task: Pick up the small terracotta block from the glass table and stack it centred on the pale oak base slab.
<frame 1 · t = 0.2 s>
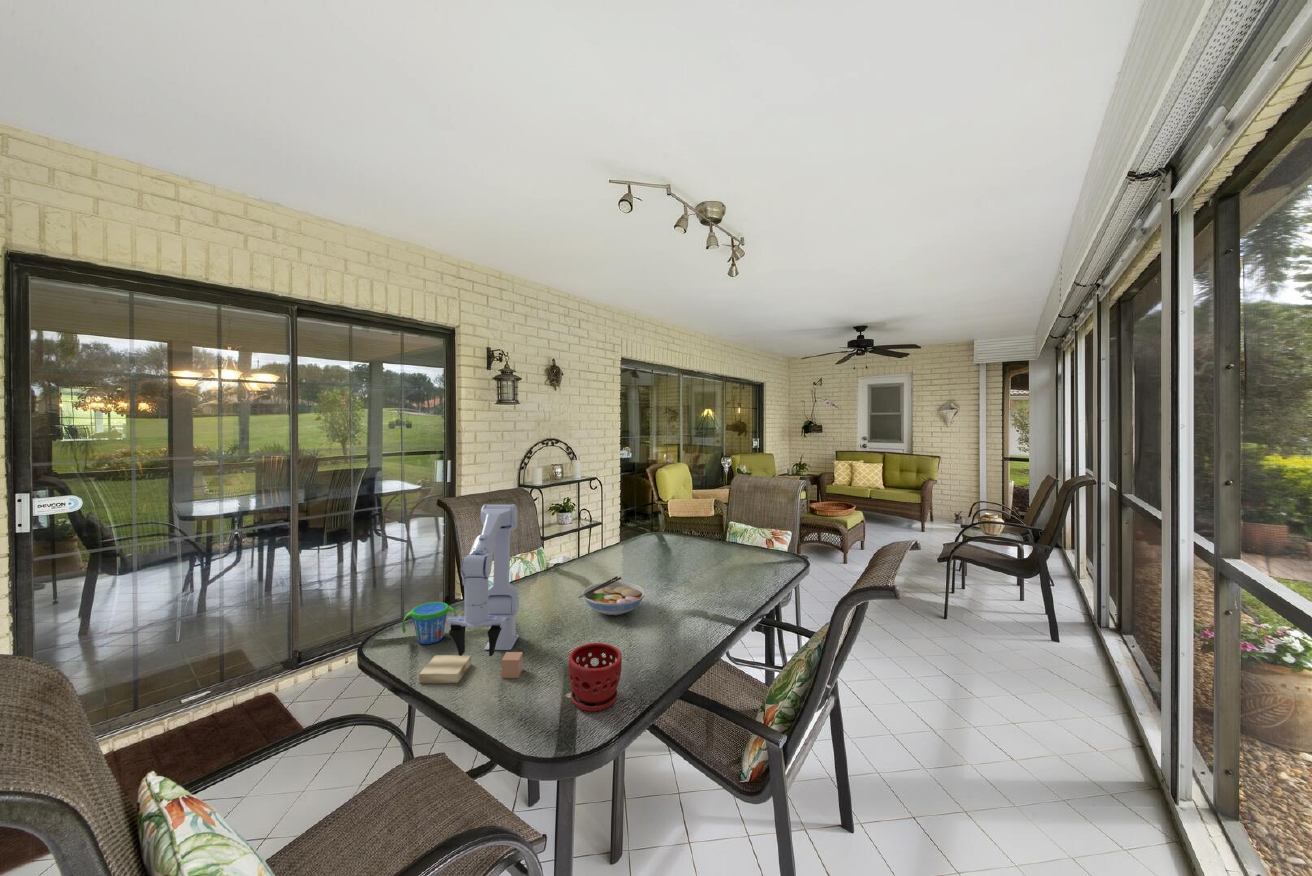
hand: (476, 653, 125), 10 cm above the table, fingers open, 7 cm apart
base: (446, 673, 134), on the table
ramen bowl: (613, 612, 178), on the table
plant pot: (594, 702, 122), on the table
block: (512, 673, 135), on the table
snack cup: (430, 640, 154), on the table
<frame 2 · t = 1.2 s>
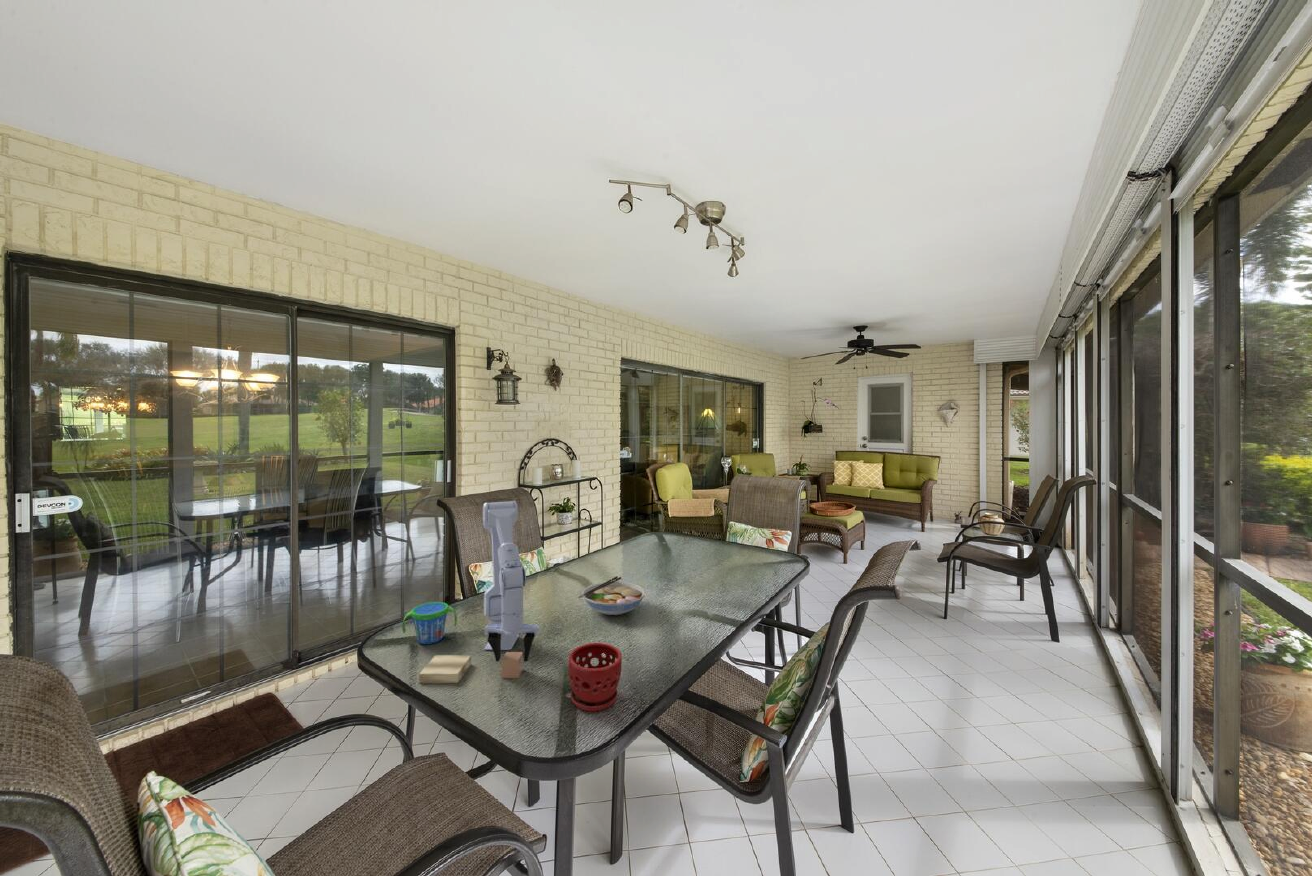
hand: (512, 659, 134), 4 cm above the table, fingers open, 7 cm apart
nothing on the table moved.
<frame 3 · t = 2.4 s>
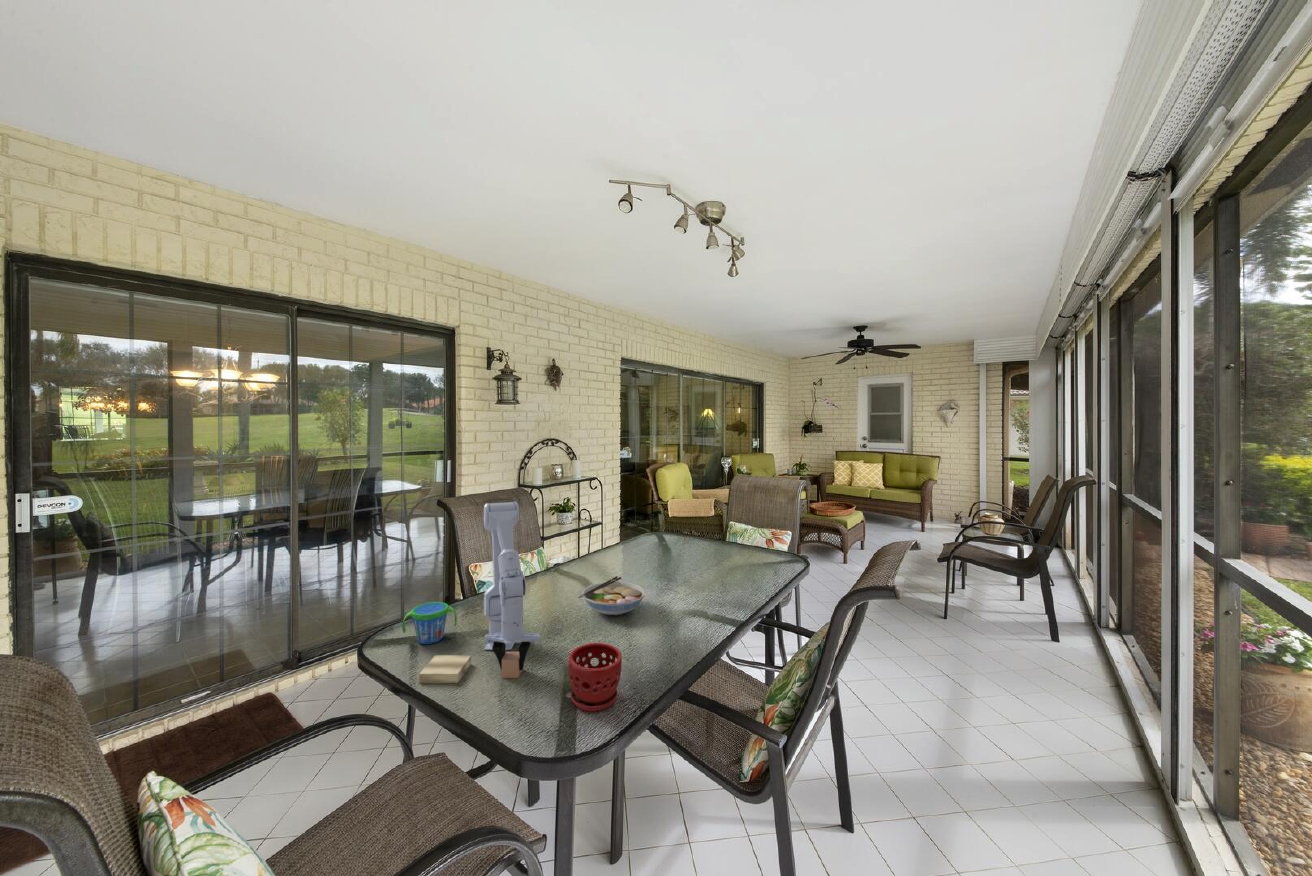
hand: (512, 668, 135), 1 cm above the table, fingers closed on block, 4 cm apart
block: (512, 673, 135), on the table, touching gripper
everything else where it was.
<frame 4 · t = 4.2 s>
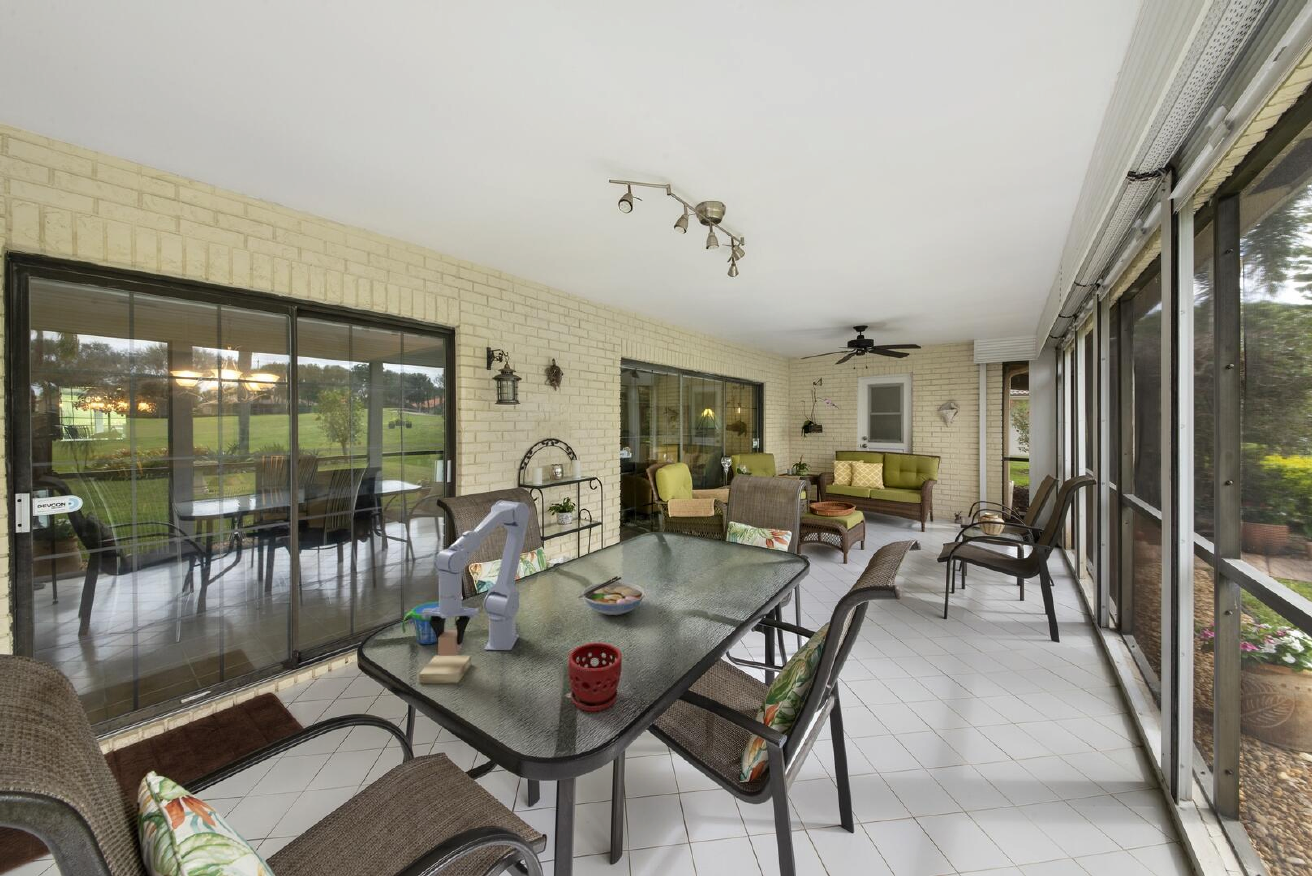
hand: (450, 643, 134), 8 cm above the table, fingers closed on block, 4 cm apart
block: (450, 651, 134), point 6 cm above the table, touching gripper
everything else where it was.
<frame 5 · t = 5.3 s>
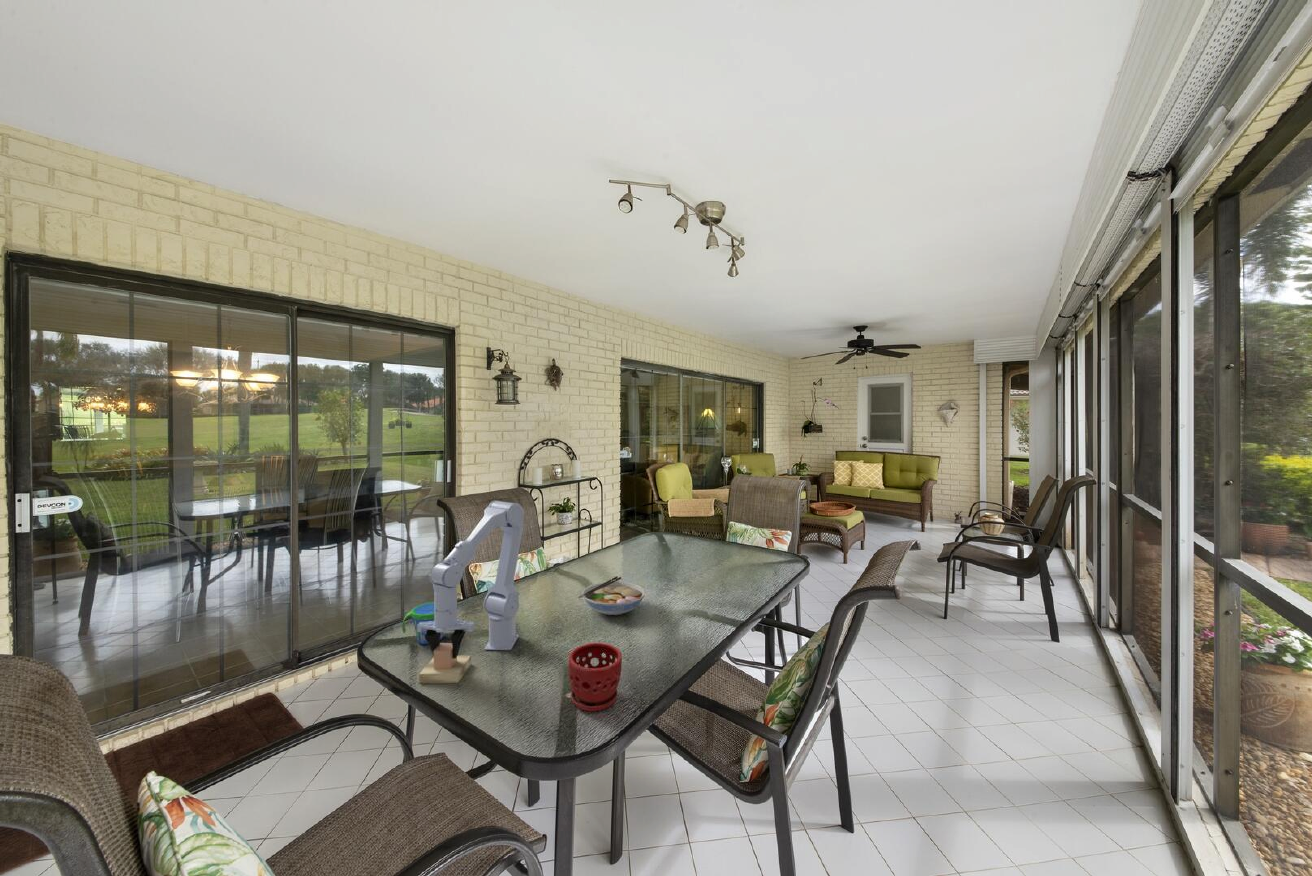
hand: (446, 656, 134), 5 cm above the table, fingers closed on block, 4 cm apart
block: (445, 664, 134), point 2 cm above the table, touching base, gripper
everything else where it was.
when the fingers open (5 cm above the table, at t = 5.9 s): block stays where it is, resting on base.
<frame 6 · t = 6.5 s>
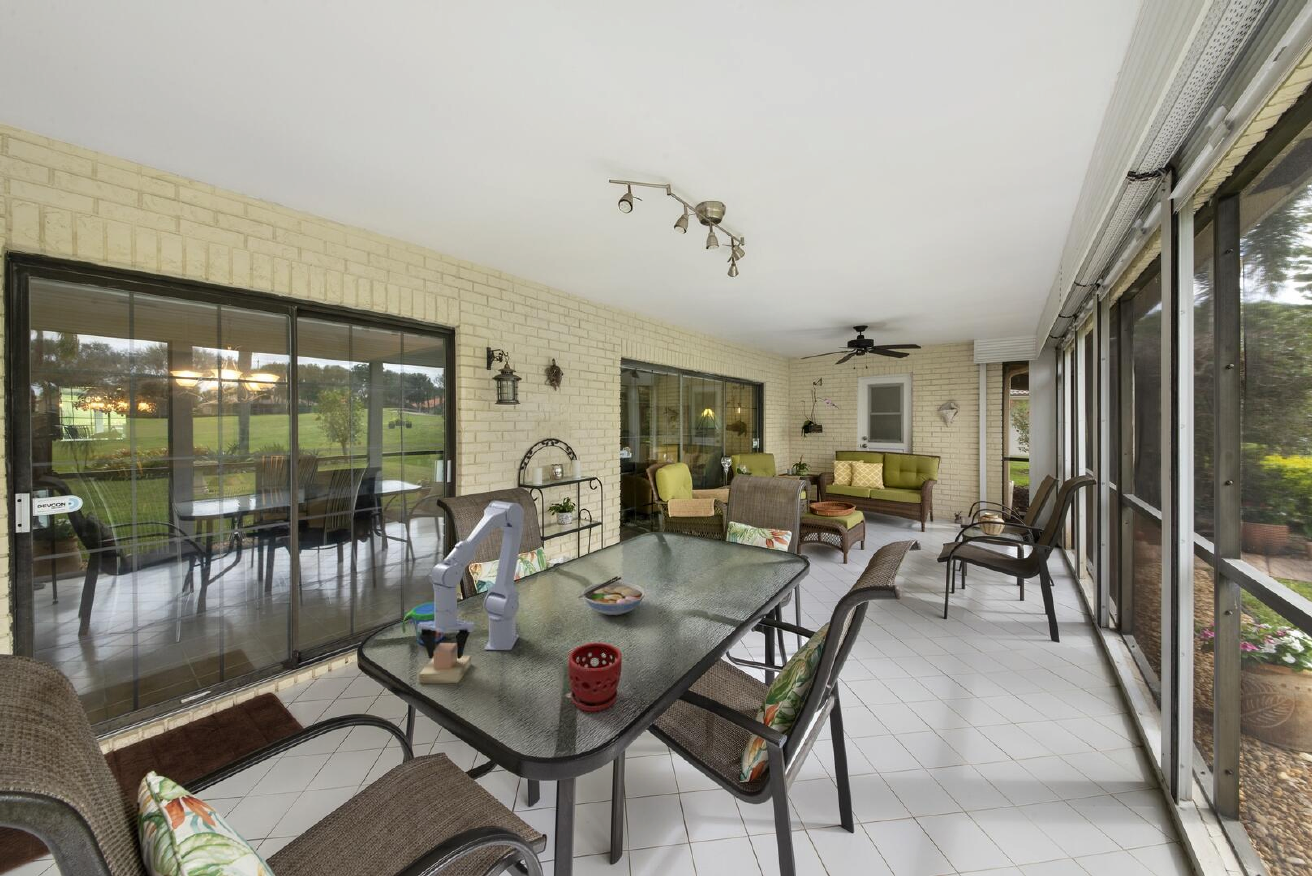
hand: (446, 656, 134), 5 cm above the table, fingers open, 7 cm apart
block: (445, 664, 134), point 2 cm above the table, touching base
everything else where it was.
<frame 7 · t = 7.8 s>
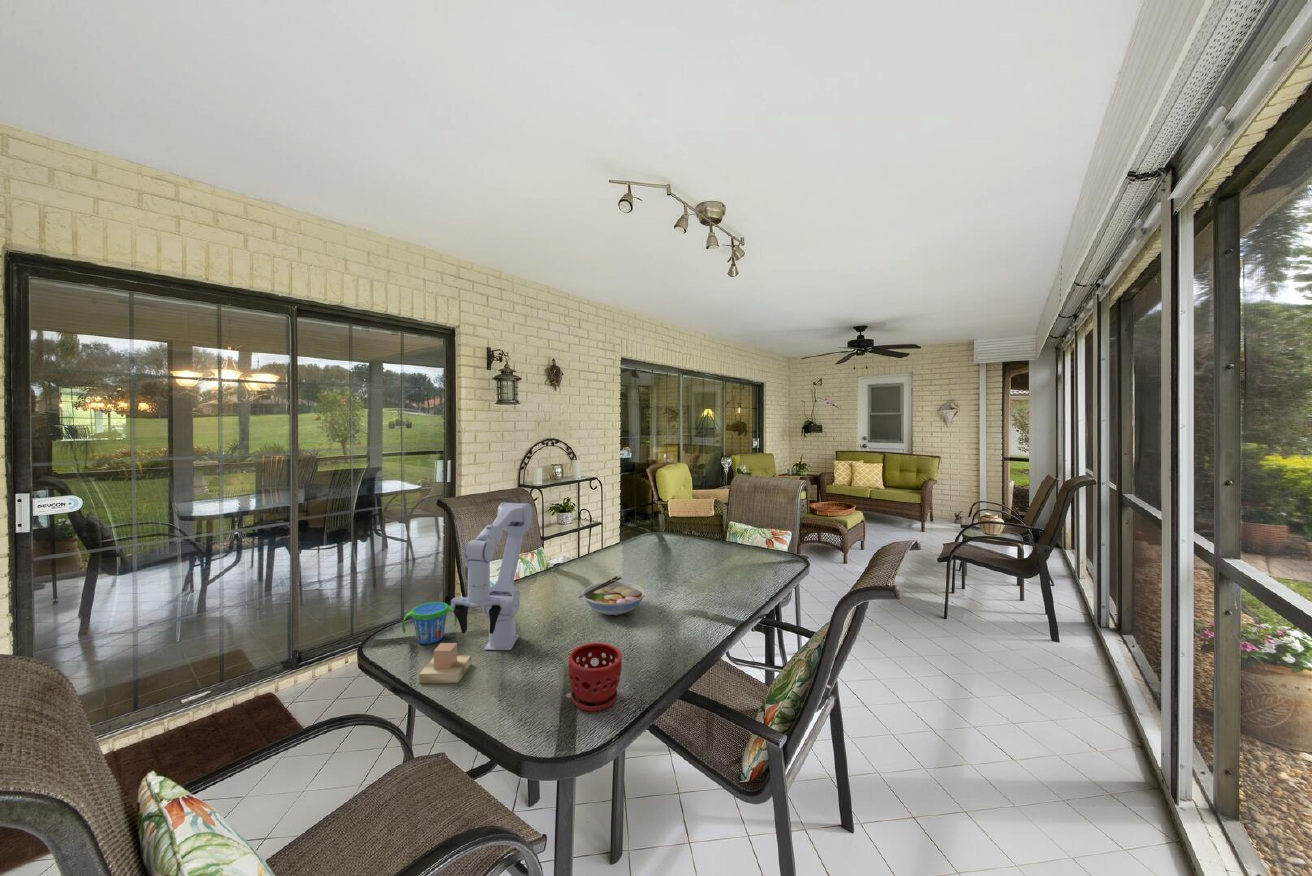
hand: (478, 632, 136), 10 cm above the table, fingers open, 7 cm apart
nothing on the table moved.
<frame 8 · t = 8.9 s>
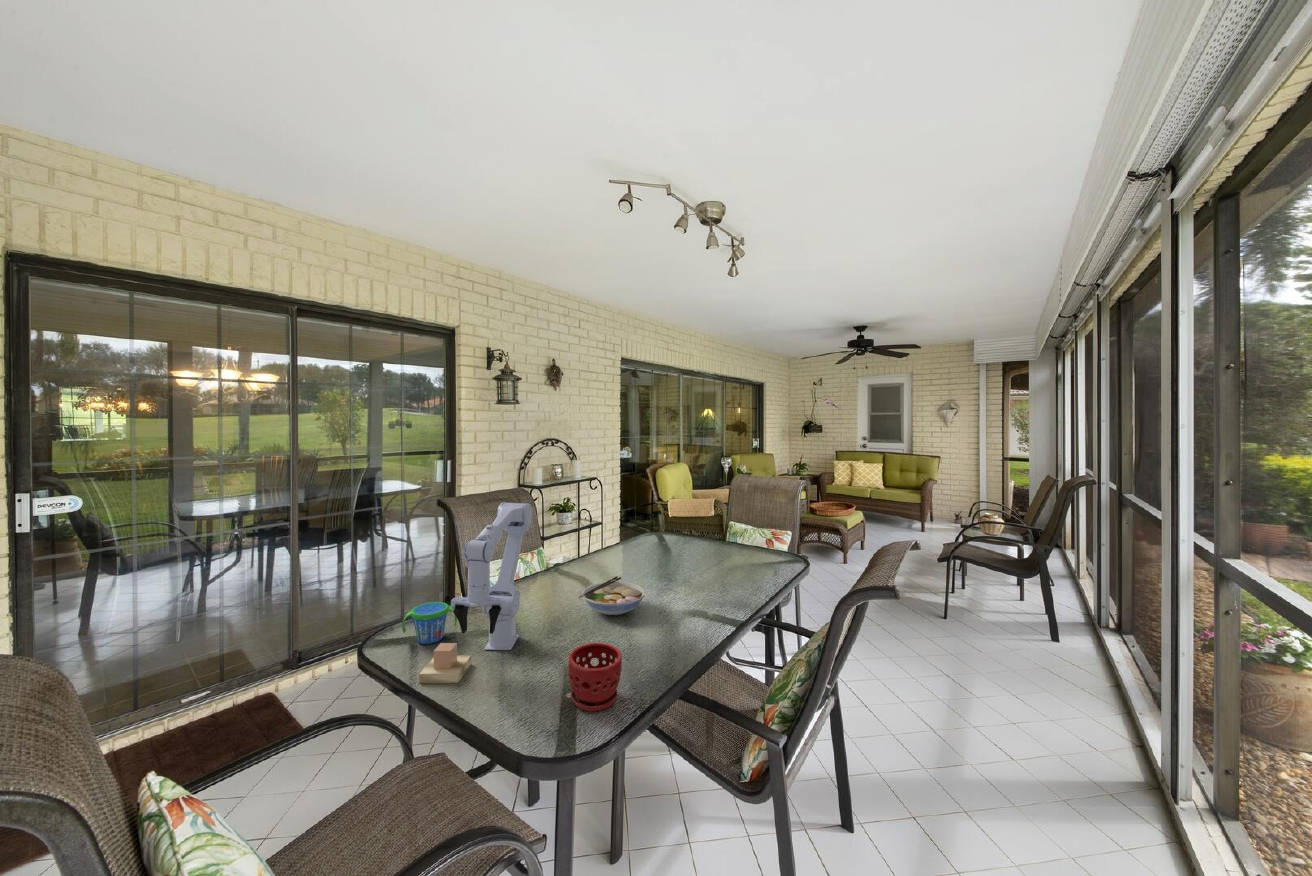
hand: (478, 632, 136), 10 cm above the table, fingers open, 7 cm apart
nothing on the table moved.
at the end: block inside the target area on the base (0.4 cm from its centre), point 2.5 cm above the base's base; block tilted 0°; the gripper is holding nothing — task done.
